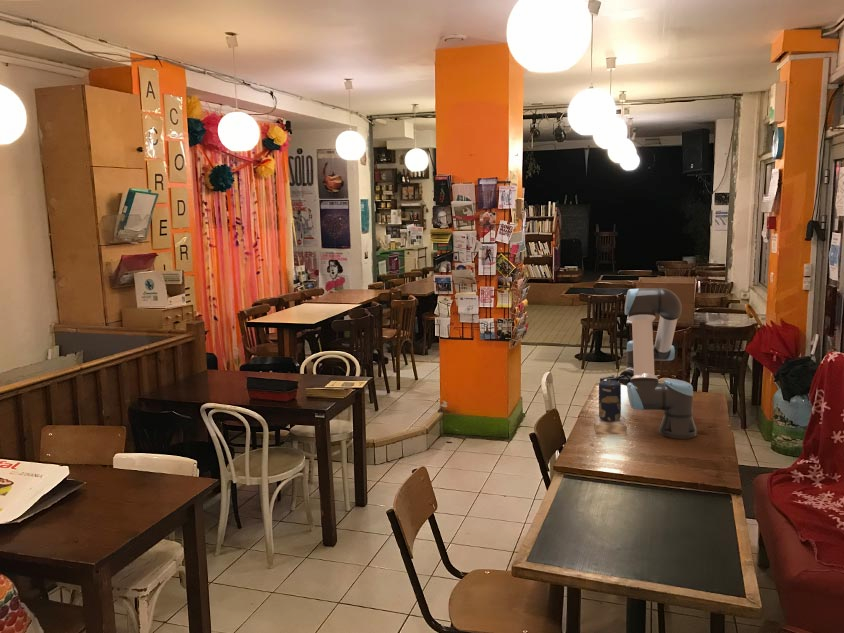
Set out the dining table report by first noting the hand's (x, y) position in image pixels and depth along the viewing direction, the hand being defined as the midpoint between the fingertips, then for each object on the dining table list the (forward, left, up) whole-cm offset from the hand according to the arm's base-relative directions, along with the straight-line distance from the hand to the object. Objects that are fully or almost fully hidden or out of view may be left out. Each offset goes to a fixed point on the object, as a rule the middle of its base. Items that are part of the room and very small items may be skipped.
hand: (616, 386), depth 312 cm
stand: (+3, +10, -17) cm, 20 cm away
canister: (+4, +9, -13) cm, 16 cm away
